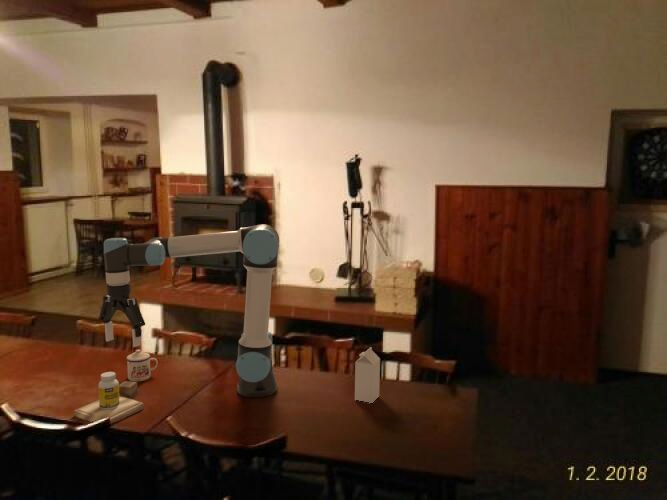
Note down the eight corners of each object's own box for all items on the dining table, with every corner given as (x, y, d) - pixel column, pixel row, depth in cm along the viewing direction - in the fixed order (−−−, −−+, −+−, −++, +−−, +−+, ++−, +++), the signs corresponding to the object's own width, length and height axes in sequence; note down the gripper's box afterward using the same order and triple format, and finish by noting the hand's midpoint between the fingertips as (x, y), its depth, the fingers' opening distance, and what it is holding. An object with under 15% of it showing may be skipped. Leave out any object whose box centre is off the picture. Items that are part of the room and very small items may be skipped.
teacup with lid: (129, 383, 212) (128, 355, 211) (125, 376, 220) (124, 348, 218) (160, 378, 218) (159, 350, 216) (155, 370, 226) (154, 344, 224)
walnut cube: (137, 394, 203) (137, 382, 202) (130, 400, 198) (129, 387, 197) (125, 393, 203) (124, 381, 203) (118, 399, 199) (117, 386, 198)
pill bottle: (100, 411, 183) (98, 379, 181) (98, 404, 189) (97, 372, 187) (120, 407, 186) (119, 375, 184) (118, 400, 192) (117, 369, 190)
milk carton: (379, 397, 202) (380, 348, 199) (372, 404, 196) (373, 354, 193) (361, 393, 205) (362, 345, 202) (354, 400, 199) (355, 351, 196)
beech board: (144, 408, 191) (143, 402, 191) (105, 427, 177) (105, 420, 177) (113, 398, 199) (113, 393, 198) (74, 415, 185) (73, 409, 184)
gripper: (153, 284, 182) (157, 344, 185) (102, 278, 193) (107, 335, 197) (135, 289, 175) (140, 351, 178) (84, 282, 187) (90, 341, 190)
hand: (123, 343), depth 187 cm, fingers open, 13 cm apart
